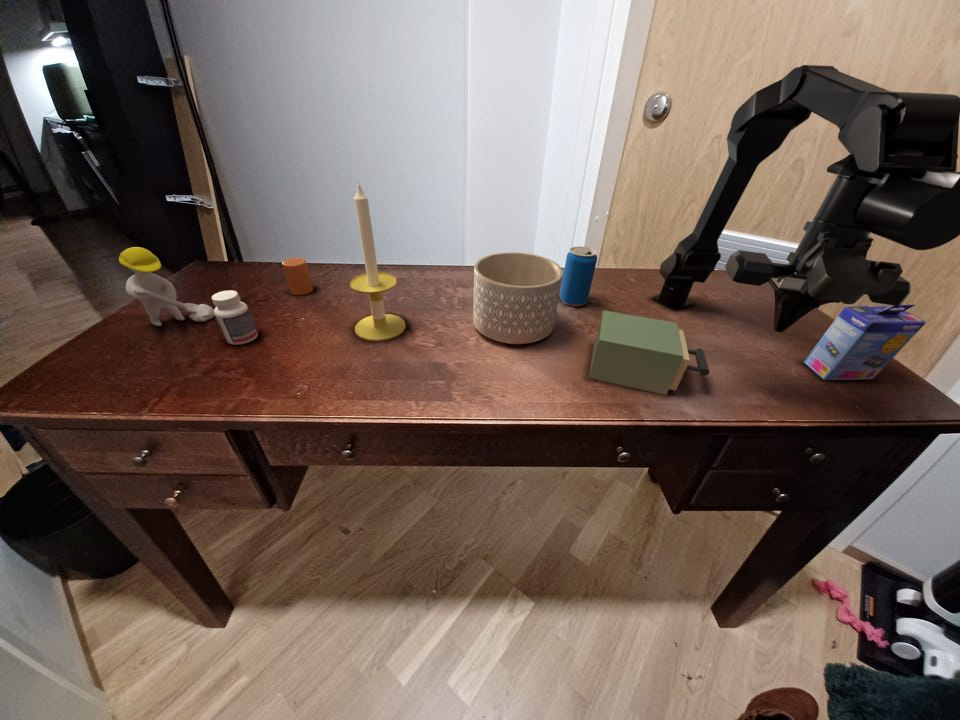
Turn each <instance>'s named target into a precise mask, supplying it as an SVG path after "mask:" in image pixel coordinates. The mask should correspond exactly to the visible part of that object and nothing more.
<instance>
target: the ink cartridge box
mask: <svg viewBox="0 0 960 720" xmlns="http://www.w3.org/2000/svg"><path fill="white" fill-rule="evenodd" d="M915 306H916V304H901V305H899V306H894V305H876V306H868V305H857V306H856V305H853V306H852V305H850V306H844V307H843V308H842V310H841V311H840V313H838V315H837V317H835V319H834V321H833V322H832V323H831V325H830V326H829V327H828V328H827V330H826V332H824V334H823V336H822V337H821V338H820V339H819V341H818V342H817V343H816V345H815V346H814V347H813V349H811V352H810V353H809V354H808V356H807V357H806V358H805V359H804V361H803V364H805V365H806V366H807V367H808V368H809V369H810V370H812V372H814V373H815V374H816V375H817V376H819V377H820V378H821V379H822V380H823V381H858V380H859V381H863V380H865V381H867V380H869V381H870V380H873V379H874V378H876V376H877V375H878V374H879V373H880V372H881V371H882V370H883V369H884V368H885V367H886V366H887V365H888V364H889V363H890V362H891V360H893V359H894V358H895V357H896V355H897V354H899V352H900V351H901V350H902V349H903V348H904V347H905V346H906V345H907V344H908V342H910V340H912V339H913V338H914V336H915V335H917V333H918V332H919V331H920V330H921V329H922V328H923V327H924V325H925V324H927V321H925V320H924V319H922V318H920V317H918V316H917V315H915V314H913V313H911V312H909V311H907V310H909V309H911V308H913V307H915Z"/></svg>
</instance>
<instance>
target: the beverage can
mask: <svg viewBox="0 0 960 720" xmlns="http://www.w3.org/2000/svg"><path fill="white" fill-rule="evenodd" d="M597 262H598V255H597V250H596V249H594V248H591V247H588V246H573V247H571V248H569V252H568V253H567V254H566V258H565V263H564V269H563V277H562V283H561V288H560V294H559V300H561V302H562V303H563V304H564V305H567V306H569V307H581V306H583V305H585V304H587V303H588V301H589V297H590V294H591V293H590V292H591V290H592V289H591V288H592V284H593V280H594V277H595V271H596V266H597Z"/></svg>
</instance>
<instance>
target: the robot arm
mask: <svg viewBox="0 0 960 720" xmlns="http://www.w3.org/2000/svg"><path fill="white" fill-rule="evenodd" d="M734 112H735V113H734V114H733V116H732V119H731V123H730V128H729V131H728V133H727V136H726V144H727V152H728V157H727V160H726V161H725V163H724V166H723V167H722V170H721V171H720V174H719V176H718V179H717V180H716V181H715V182H716V183H715V184H714V187H713V189H712V190H711V193H710V195H709V197H708V199H707V202H706V203H705V205H704V207H703V210H702V212H701V214H700V216H699V218H698V221H697V222H696V225H695V227H694V229H693V231H692V232H691V233H690V234H688V235H687V236H686V237H684V238H683V239H682V240H681V241H679V242H678V244H677V245H676V247H675V249H674V250H673V252H672V253H671V254H670V255H669V256H668V257H667V258H666V259H664V260H663V261H662V262H661V263H660V267H659V272H658V273H659V275H660V276H661V277H662V278H663V279H664V283H663V284H662V288H661V290H660V292H659V294H658V295H655V296H652V300H653V301H655V302H657V303H659V304H661V305H662V306H665V307H667V308H669V309H671V310H673V311H678V310H681V309H684V308H687V307H689V306H690V307H691V306H692V305H693V302H692V301H690V300H688V299H689V296H690V293H691V291H692V290H693V289H692V288H693V286H694V283H702V284H705V282H706V281H707V279H708V278H709V276H710V275H711V274H712V273H713V272H715V268H716V266H717V264H718V263H719V262H720V260H721V259H722V254H721V253H720V252H719V244H718V242H719V239H720V237H721V235H722V233H723V232H724V230H725V228H726V226H727V224H728V222H729V221H730V219H731V217H732V215H733V213H734V211H735V209H736V208H737V205H738V204H739V202H740V201H741V199H742V196H743V195H744V193H745V190H746V189H747V187H748V185H749V184H750V182H751V180H752V178H753V176H754V174H755V172H756V170H757V169H758V166H759V165H760V164H761V163H762V162H764V161H765V160H766V159H768V158H769V157H770V156H771V155H773V154H774V153H775V152H777V150H779V149H780V147H781V146H782V145H783V143H784V142H785V140H786V139H787V137H788V136H789V135H790V133H791V132H792V131H793V130H794V129H796V128H797V127H798V126H800V125H802V124H803V123H804V122H806V121H807V120H809V118H810V117H811V114H812V113H813V114H815V115H817V116H818V117H820V118H822V119H823V120H826V121H827V122H830V123H831V124H833V125H834V126H836V127H837V128H838V130H839V131H838V134H837V139H838V141H839V142H840V144H841V145H842V146H843V147H844V148H845V150H846V151H847V153H849V154H848V155H846V156H845V157H844V158H842V159H840V160H838V161H835V162H834V163H832V164H830V165H828V166H827V168H826V172H827V173H830V174H833V175H836V177H835V179H834V181H833V183H832V185H831V186H830V188H829V190H828V191H827V193H826V195H825V197H824V199H823V201H822V202H821V204H820V207H819V208H818V210H817V211H816V213H815V215H814V217H813V219H812V221H809V220H807V221H806V222H805V224H804V226H803V228H802V230H803V231H805V233H804V235H803V237H802V239H801V240H800V242H799V244H798V245H797V247H796V249H795V251H794V252H793V251H789V254H788V255H787V257H786V260H787V261H788V264H787V263H781V262H780V263H778V262H773V261H772V260H771V259H770V258H769V257H768V255H767V254H766V253H764V252H755V251H747V250H741V249H737V250H736V251H735V252H733V253H732V254H731V255H730V256H729V257H728V259H727V262H726V264H725V266H724V268H725V270H726V272H727V274H728V275H729V278H730V279H731V281H732V282H735V283H737V284H743V285H749V286H750V285H751V286H756V287H761V286H762V285H763V286H764V284H767V283H769V285H770V286H771V287H772V289H773V294H774V308H773V309H774V310H773V328H772V329H773V330H774V332H776V333H783V332H785V331H787V329H789V328H790V327H791V326H792V325H794V324H795V323H797V322H798V321H799V320H800V319H802V318H803V317H804V316H806V315H807V314H808V313H810V312H811V311H813V310H815V309H817V308H819V307H821V306H823V305H827V304H831V303H835V304H840V303H842V304H843V305H854V304H856V303H857V302H858V301H859V300H860V299H861V298H862V297H863V296H864V295H866V296H867V297H868V299H869V300H870V302H871V303H875V304H882V305H886V306H893V305H894V306H899V305H903V303H904V302H905V300H907V298H908V297H909V295H910V294H911V290H912V285H911V283H910V282H911V281H909V280H907V279H905V278H904V277H903V276H902V274H903V271H904V270H903V268H902V266H901V264H900V263H896V262H890V261H881V260H880V261H877V260H871V259H867V255H868V252H869V250H870V248H871V247H872V245H873V244H872V243H873V241H874V240H875V239H874V238H873V237H871V236H870V234H872V235H873V234H874V235H876V236H879V237H881V238H884V239H886V240H889V241H891V242H894V243H896V244H898V245H901V246H904V247H907V248H909V249H911V250H915V251H927V250H928V251H929V250H932V249H935V248H936V249H937V248H939V247H941V246H944V245H946V244H948V243H950V242H952V241H953V240H954V239H957V238H958V237H959V236H960V171H957V166H958V158H959V154H958V148H959V130H960V97H959V96H958V95H956V94H952V93H951V94H949V93H934V92H933V93H932V92H912V91H911V92H910V91H891V90H888V89H886V88H883V87H880V86H878V85H875V84H873V83H870V82H868V81H865V80H862V79H860V78H857V77H855V76H852V75H850V74H847V73H845V72H842V71H839V70H838V69H837V68H835V66H833V65H820V64H819V65H818V64H817V65H816V64H815V65H814V64H802V65H800V66H797V67H796V66H795V68H793V69H791V70H790V71H789V72H788V73H787V74H786V75H785V76H783V78H781V79H779V80H777V81H775V82H773V83H771V84H769V85H767V86H765V87H763V88H761V89H759V90H758V91H756V92H754V93H753V94H752V95H751V96H750V97H749V98H748V99H746V100H745V101H744V102H743V103H742V104H740V106H739V107H738V108H737V110H736V111H734Z"/></svg>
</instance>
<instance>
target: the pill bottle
mask: <svg viewBox="0 0 960 720" xmlns="http://www.w3.org/2000/svg"><path fill="white" fill-rule="evenodd" d="M211 300H212V303H213V305H214V306H215V308H214V315H215V316H214V317H215V319H216V321H217V323H218V326H219V328H220V330H221V332H222V334H223V336H224V339H225V340H226V342H227V343H228V344H230V345H233V346H241V345H245V344H249V343H251V342H253V341H254V340H255V339H257V338H258V335H259V332H258V329H257V327H256V325H255V321H254V319H253V316H252V314H251V312H250V308H249V306H248V305H247V304H246V303H245V302H244V301H242V300H241V297H240V294H239V292H238V291H236V290H230V289H229V290H222V291H219V292H217V293H214V294H213V295H212V296H211Z"/></svg>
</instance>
